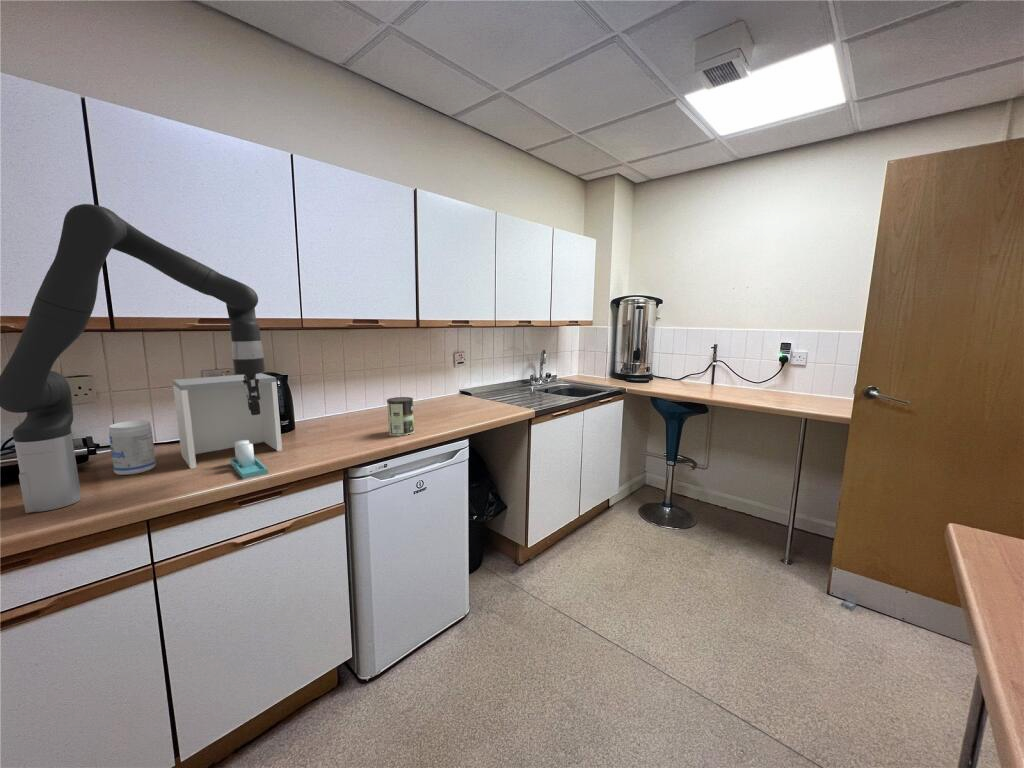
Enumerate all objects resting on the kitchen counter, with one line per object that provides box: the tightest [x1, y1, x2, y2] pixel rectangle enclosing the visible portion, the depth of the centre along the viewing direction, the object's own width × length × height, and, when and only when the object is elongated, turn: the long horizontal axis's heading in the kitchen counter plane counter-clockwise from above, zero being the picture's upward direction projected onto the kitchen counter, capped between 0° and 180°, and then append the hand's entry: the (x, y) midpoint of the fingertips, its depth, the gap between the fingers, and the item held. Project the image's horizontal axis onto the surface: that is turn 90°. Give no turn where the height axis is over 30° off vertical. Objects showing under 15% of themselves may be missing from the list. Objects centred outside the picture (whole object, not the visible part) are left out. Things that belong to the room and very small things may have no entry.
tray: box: [229, 440, 269, 480], centre depth 127 cm, size 18×6×8 cm, turn 44°
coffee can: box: [386, 396, 415, 437], centre depth 169 cm, size 10×10×14 cm
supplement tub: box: [108, 420, 156, 476], centre depth 126 cm, size 10×10×15 cm
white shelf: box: [172, 373, 283, 469], centre depth 142 cm, size 26×18×26 cm
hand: (254, 412), depth 121 cm, fingers open, 8 cm apart
